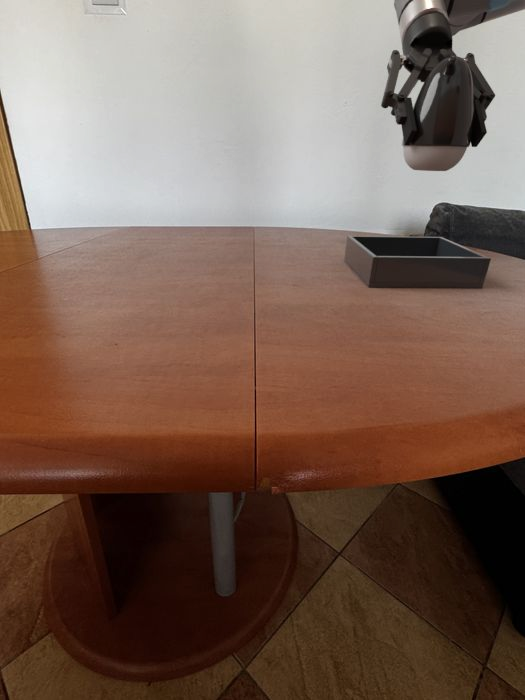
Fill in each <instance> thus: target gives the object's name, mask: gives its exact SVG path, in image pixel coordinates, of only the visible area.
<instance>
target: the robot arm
mask: <svg viewBox="0 0 525 700" xmlns="http://www.w3.org/2000/svg"><path fill="white" fill-rule="evenodd" d="M393 6H394V7H393V8H394V10H395V13H396V18H397V23H398V30H399V36H400V37H399V38H400V42H401V50H402V54H400V51H399V50H397V49H393V50H392V51H391V54H390V57H389V60H388V63H387V66H386V70H387V74H388V76H387V80H386V83H385V87H384V92H383V94H382V95H383V96H382V100H381V103H380V106H381V108H383V109H388V108H389V107H390V108H392V109H391V111H390V115H391V116H393V117H394V119H395V123H396V125H399V126H400V125H401V129H402V130H401V132H402V139H403V138H404V145H410V143H411V141H412V139H413V137H414V135H415V133H416V131H417V129H416V123H415V117H414V111H413V106H414V104H413V100H412V97H410V94H412V92H413V89H414V88H415V87H416V85H417V83H418V82H419V81H420V83H424V82H425V80H426V78H427V77H428V75H429V74H430V72H431V71H432V69H433V68H434V67H435V66H436V65H437V64H438V63H439V62H440V61H441V60H443V59H445V58H447V57H451V56H457V54H456V52H454V50H453V36H456V35H457V34H458V33H459V32H461V31H464V30H467V29H470V28H473V27H476V26H478V25H481V24H483V23H487V22H490V21H493V20H496V19H500V18H502V17H505V16H508V15H512V14H515V13H518V12H521V11H524V10H525V0H393ZM462 58H463V59H464V60H465V61H466V62H467V63H468V65H469V68H470V71H471V75H472V80H473V89H474V118H473V129H472V137H471V142H470V146H471V147H472V148H477V147H478V146H479V144H480V143H481V142H482V140H483V139H484V137H485V136H486V135H487V133H488V131H487V126H486V123H485V122H486V120H487V118H488V115H487V111H486V110H487V109H488V108H489V106H490V105H491V104H492V102H493V100H494V99H495V97H496V94H495V92H494V90H493V89H492V87H491V85H490V84H489V83H488V81H487V79H486V77H485V76H484V75H483V73H482V71H481V69H480V68H479V66H478V64H477V63H476V58H475V54H474V53H472V52H467V54H466V56H465V57H462ZM402 68H404V69H405V70H406V71H407V72H408V73H410V74H409V75H408V77H407V79H406V80H405V82H404V84H403V85H402V87H401V89H400V91H399V92H398V93H395V89H396V86H397V82H398V78H399V73H400V70H402Z"/></svg>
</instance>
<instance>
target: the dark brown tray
mask: <svg viewBox="0 0 525 700" xmlns="http://www.w3.org/2000/svg"><path fill="white" fill-rule="evenodd" d="M345 244H346V246H345V251H344V259H343V261H344V262H345V263H346V264H347V266H348V267H349V268H350V269H351V270H352V271H353V272H354V273H355V274H356V275H357V276H358V277H359V279H360V280H361V281H362V282H363V283H364V284H365V285H366V287H368V288H409V289H410V288H422V289H425V288H427V289H428V288H429V289H431V288H432V289H433V288H434V289H435V288H436V289H439V288H440V289H450V288H451V289H483V287H484V283H485V280H486V277H487V273H488V270H489V268H490V263H491V260H492V258H491V257H489V256H486V255H484V254H482V253H479V252H477V251H475V250H473V249H471V248H468V247H466V246H464V245H461V244H459V243H457V242H455V241H452V240H449V239H447V238H445V237H444V236H405V235H404V236H403V235H402V236H400V235H399V236H395V235H394V236H393V235H388V236H387V235H347V236H346V242H345Z"/></svg>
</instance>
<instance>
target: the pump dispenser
mask: <svg viewBox="0 0 525 700" xmlns="http://www.w3.org/2000/svg"><path fill="white" fill-rule="evenodd" d="M463 58H464V57H460V56H457V55H456V56H451V57H447V58H445V59H443V60H441V61H440V62H439V63H438V64H437V65H436V66H435V67H434V68H433V69H432V71H431V72H430V74H429V75H428V77H427V78H426V80H425V82H423V84H422V86H421V88H420V90H419V91H418V95H417V97H416V99H415V102H414V104H413V111H414V117H415V123H416V129H417V131H416V133H415V135H414V137H413V139H412V141H411V143H410V145H404V138H403V137H402V140H401V146H402V149H403V150H402V151H403V158H404V161H405V163H406V165H407V166H408V167H409V168H410V169H412V170H413V171H422V172H423V171H425V172H428V171H429V172H447V171H449V170H452V169H453V168H454V167H455V166H457V165H458V164H459V163H460V161H462V159H463V157H464V156H465V153H466V151H467V148H470V146H471V137H472V129H473V118H474V89H473V80H472V75H471V71H470V68H469V65H468V63H467V62H466V61H465V60H464V59H463Z"/></svg>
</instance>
